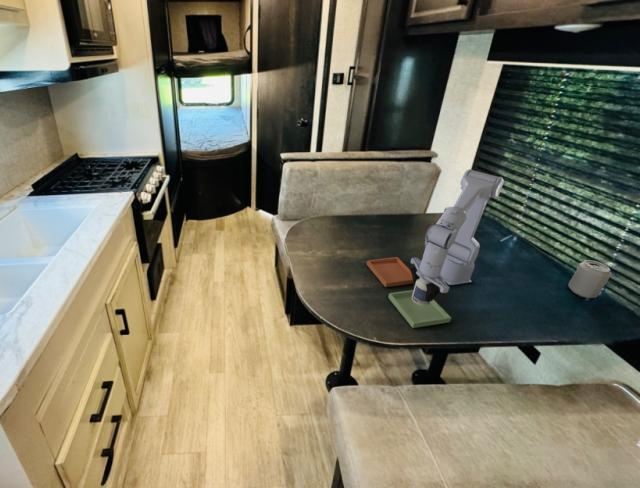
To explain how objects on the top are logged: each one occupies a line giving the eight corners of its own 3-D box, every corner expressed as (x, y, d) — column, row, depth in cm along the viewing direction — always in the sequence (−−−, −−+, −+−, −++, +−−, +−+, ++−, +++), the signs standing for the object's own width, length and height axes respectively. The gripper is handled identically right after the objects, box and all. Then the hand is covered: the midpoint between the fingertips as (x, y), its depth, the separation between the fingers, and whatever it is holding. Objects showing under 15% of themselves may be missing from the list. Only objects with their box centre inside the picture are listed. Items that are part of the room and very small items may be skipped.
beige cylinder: (588, 287, 114) (604, 260, 109) (601, 301, 108) (619, 274, 102) (562, 282, 116) (577, 256, 111) (574, 296, 110) (590, 269, 105)
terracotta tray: (396, 260, 129) (397, 256, 128) (417, 282, 117) (418, 278, 116) (366, 264, 127) (367, 260, 126) (385, 287, 115) (386, 283, 114)
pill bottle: (431, 307, 101) (439, 284, 97) (413, 305, 102) (421, 282, 98) (426, 295, 106) (433, 273, 101) (409, 293, 107) (415, 271, 102)
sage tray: (421, 292, 112) (423, 288, 111) (449, 322, 100) (451, 317, 100) (388, 297, 110) (389, 293, 109) (412, 328, 99) (414, 323, 98)
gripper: (406, 248, 103) (397, 280, 108) (438, 277, 90) (426, 312, 95) (425, 245, 104) (416, 277, 109) (460, 275, 91) (447, 309, 96)
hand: (422, 293), depth 102 cm, fingers closed on pill bottle, 5 cm apart
